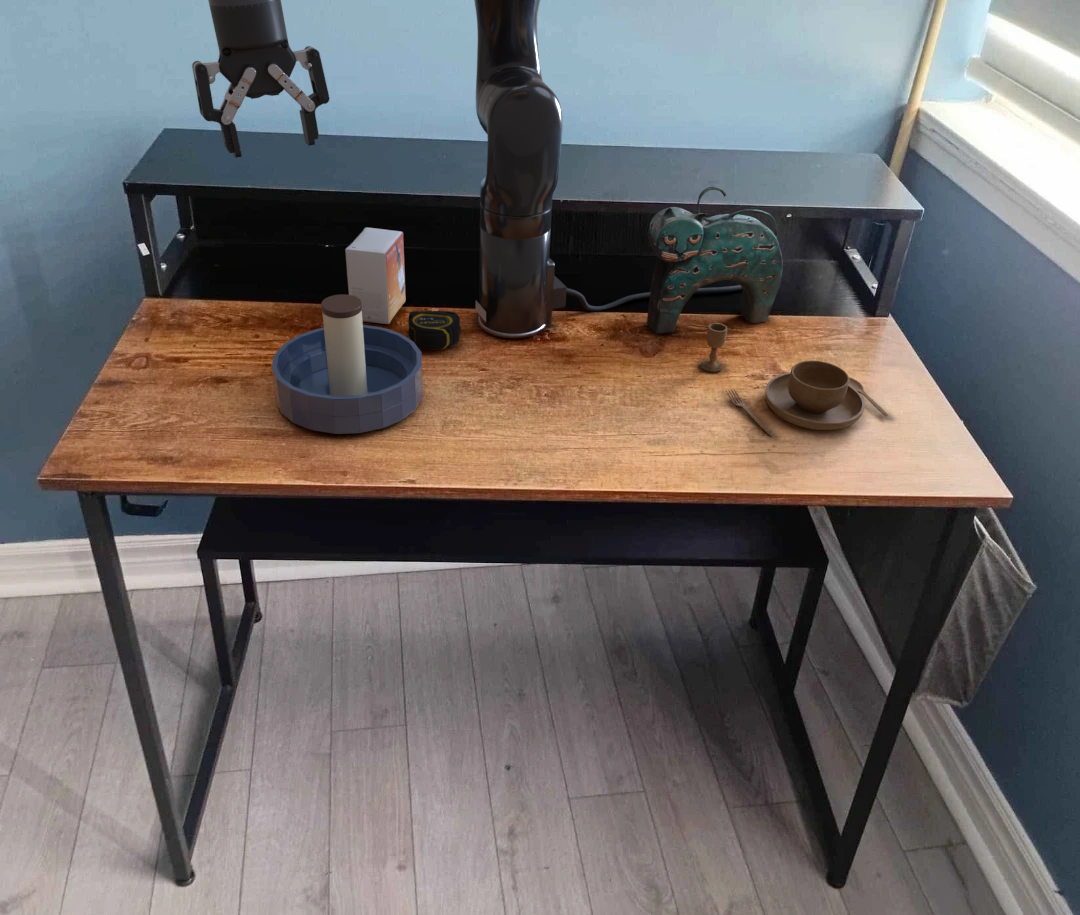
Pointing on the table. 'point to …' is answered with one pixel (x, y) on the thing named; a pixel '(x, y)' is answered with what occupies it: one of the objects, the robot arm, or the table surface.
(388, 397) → the bowl
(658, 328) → the ceramic cat
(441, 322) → the tape measure
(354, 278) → the small box
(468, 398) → the table surface
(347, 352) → the tube
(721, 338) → the place setting
